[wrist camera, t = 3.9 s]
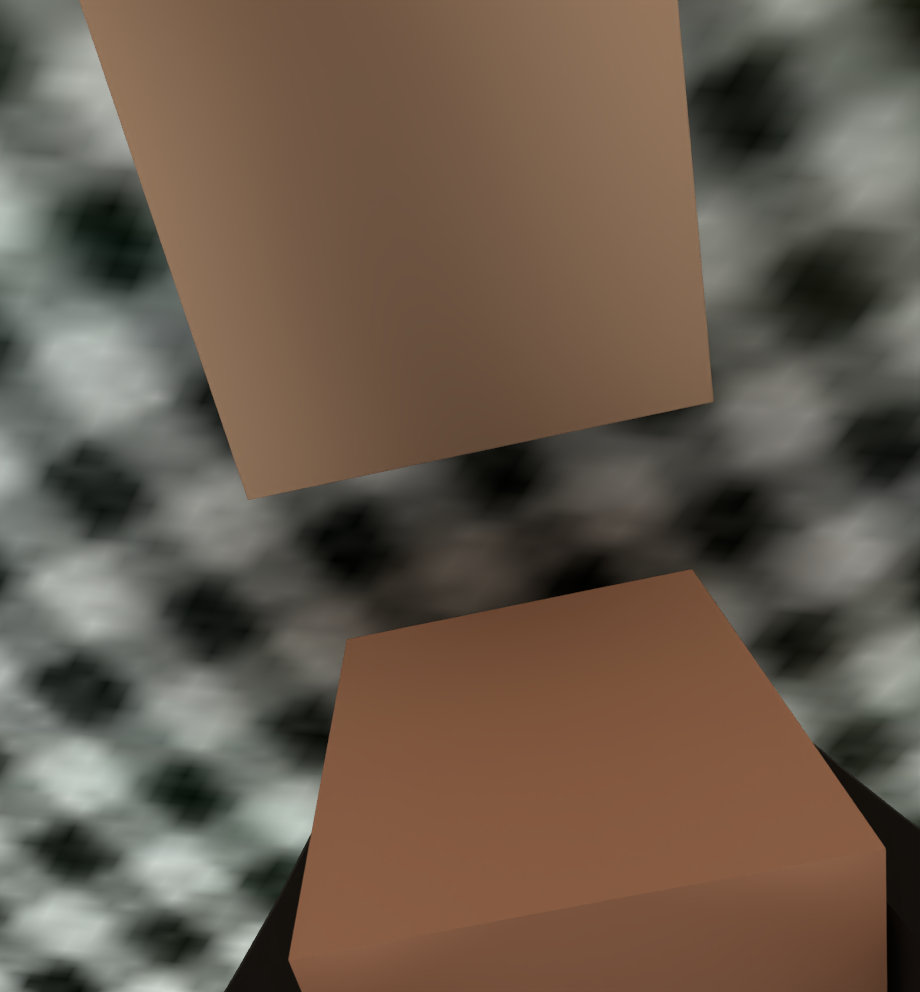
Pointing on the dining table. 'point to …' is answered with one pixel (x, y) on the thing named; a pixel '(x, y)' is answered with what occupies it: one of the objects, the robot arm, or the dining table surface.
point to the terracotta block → (582, 813)
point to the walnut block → (417, 218)
